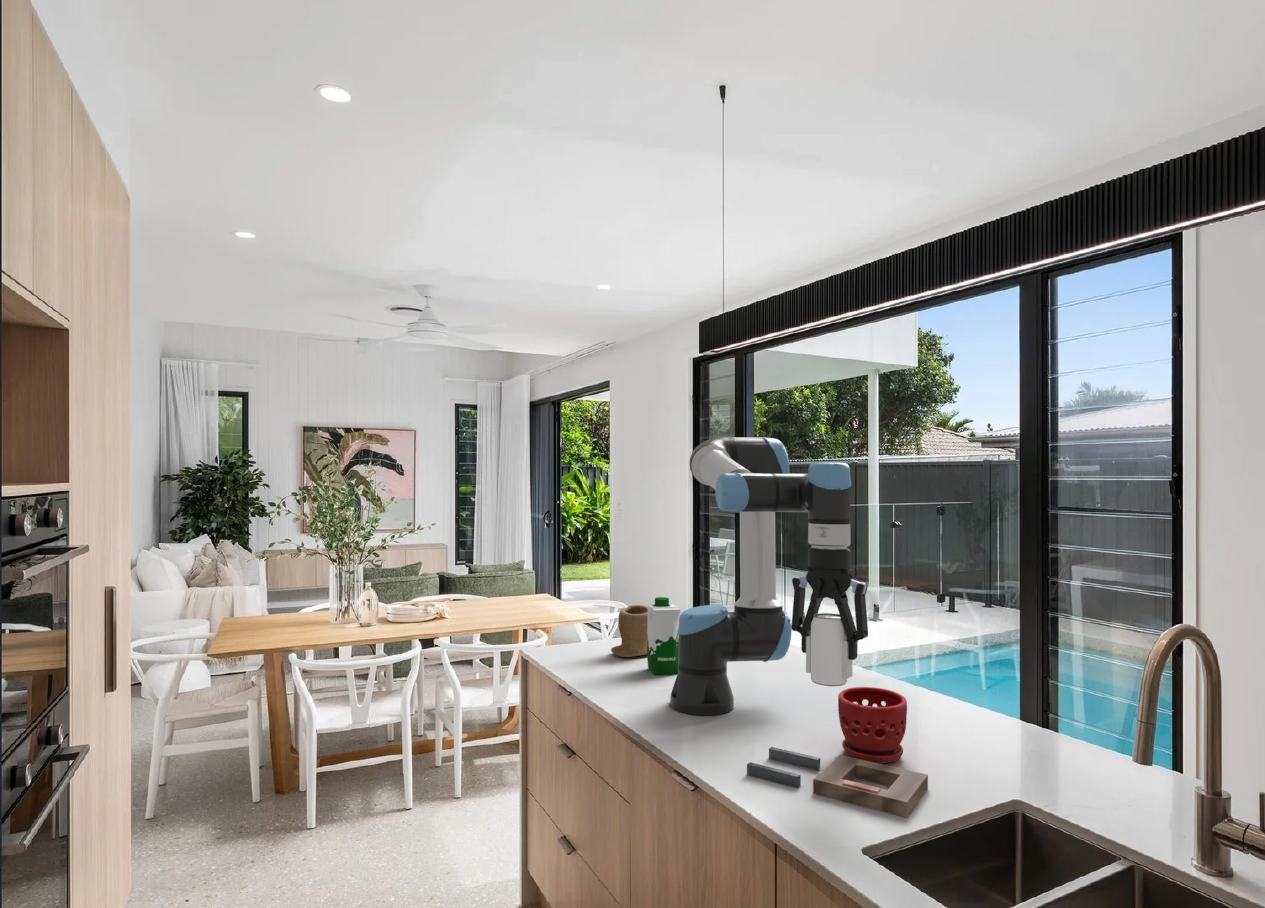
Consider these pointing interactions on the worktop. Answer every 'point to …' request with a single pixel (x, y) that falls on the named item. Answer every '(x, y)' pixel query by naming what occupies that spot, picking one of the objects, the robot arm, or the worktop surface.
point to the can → (827, 649)
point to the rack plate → (894, 800)
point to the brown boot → (632, 631)
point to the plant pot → (872, 723)
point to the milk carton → (662, 637)
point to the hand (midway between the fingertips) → (828, 673)
